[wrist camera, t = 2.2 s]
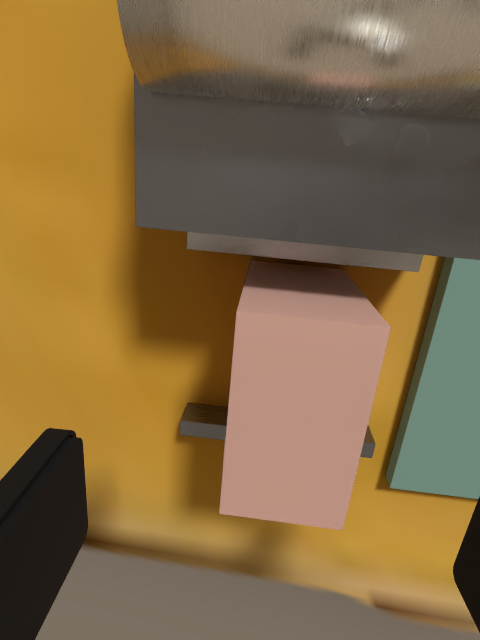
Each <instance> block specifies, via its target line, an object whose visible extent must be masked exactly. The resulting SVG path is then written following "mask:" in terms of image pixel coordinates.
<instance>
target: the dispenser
mask: <svg viewBox="0 0 480 640" xmlns="http://www.w3.org/2000/svg"><path fill="white" fill-rule="evenodd" d="M117 4H118V11H119V17H120V23H121V28H122V33H123V37H124V42H125V46H126V50H127V53H128V57H129V60H130V63H131V66H132V69H133V71H134V105H135V206H136V227H144V228H154V229H164V230H175V231H185V232H187V249H191V250H201V251H211V252H221V253H231V254H241V255H252V256H262V257H272V258H282V259H292V260H302V261H312V262H322V263H332V264H342V265H352V266H362V267H372V268H382V269H393V270H403V271H413V272H419V269H420V265H421V261H422V257H423V255H432V256H442V257H452V258H463V259H473V260H480V0H117ZM227 417H228V408H225V407H217V406H208V405H200V404H192V403H187V405H186V408H185V410H184V413H183V416H182V418H181V425H180V435H186V436H195V437H203V438H211V439H219V440H225V437H226V428H227ZM374 448H375V441H374V439H373V436H372V434H371V431H370V429H369V426H367V430H366V434H365V438H364V442H363V447H362V451H361V455H360V457H367V458H372V456H373V452H374Z"/></svg>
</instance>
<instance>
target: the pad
mask: <svg viewBox="0 0 480 640" xmlns="http://www.w3.org/2000/svg"><path fill="white" fill-rule="evenodd" d="M385 477H386V479H387V482H388V484H389V487H390V488H393V489H401V490H409V491H417V492H425V493H433V494H441V495H449V496H457V497H465V498H473V499H479V497H480V260H473V259H463V258H452V257H445V259H444V263H443V267H442V270H441V274H440V278H439V281H438V285H437V289H436V292H435V296H434V300H433V303H432V307H431V311H430V314H429V318H428V322H427V326H426V329H425V333H424V337H423V340H422V344H421V348H420V351H419V355H418V359H417V362H416V366H415V370H414V373H413V377H412V381H411V384H410V388H409V392H408V395H407V399H406V403H405V406H404V410H403V414H402V417H401V421H400V425H399V428H398V432H397V436H396V439H395V443H394V447H393V450H392V454H391V458H390V461H389V465H388V469H387V472H386V476H385Z"/></svg>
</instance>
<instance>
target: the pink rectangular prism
mask: <svg viewBox="0 0 480 640" xmlns="http://www.w3.org/2000/svg"><path fill="white" fill-rule="evenodd" d="M390 329H391V327H390V326H389V325H388V324H387V322H386V321H385V320H384V319H383V317H382V316H381V315H380V314H379V312H378V311H377V310H376V309H375V308H374V306H373V305H372V304H371V303H370V301H369V300H368V299H367V298H366V296H365V295H364V294H363V293H362V292H361V290H360V289H359V288H358V287H357V285H356V284H355V283H354V282H353V280H352V279H351V278H350V277H349V276H348V274H347V273H346V272H345V271H344V270H342V269H332V268H322V267H312V266H302V265H292V264H282V263H272V262H262V261H252V260H251V262H250V265H249V269H248V272H247V276H246V280H245V283H244V287H243V290H242V294H241V297H240V301H239V304H238V308H237V312H236V324H235V336H234V347H233V359H232V370H231V382H230V394H229V405H228V417H227V428H226V437H225V445H224V456H223V475H222V486H221V498H220V510H219V514H224V515H232V516H240V517H247V518H255V519H262V520H270V521H277V522H285V523H293V524H300V525H308V526H315V527H323V528H331V529H338V530H343V526H344V522H345V518H346V514H347V510H348V505H349V501H350V497H351V493H352V489H353V484H354V480H355V476H356V472H357V468H358V463H359V459H360V455H361V451H362V447H363V442H364V438H365V434H366V430H367V426H368V421H369V417H370V413H371V409H372V405H373V400H374V396H375V392H376V388H377V384H378V379H379V375H380V371H381V367H382V363H383V358H384V354H385V350H386V346H387V342H388V337H389V333H390Z"/></svg>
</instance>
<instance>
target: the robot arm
mask: <svg viewBox="0 0 480 640" xmlns="http://www.w3.org/2000/svg"><path fill="white" fill-rule="evenodd" d="M87 529H88V516H87V501H86V485H85V469H84V454H83V441H82V439H81V438H77V437H76V433H75V432H74V431H72V430H63V429H54V428H49V429H46V430H45V431H44V432H43V433H42V434H41V435H40V437H39V438H38V439H37V440H36V441H35V442H34V443H33V444H32V446H31V447H30V448H29V449H28V450H27V451H26V452H25V453H24V455H23V456H22V457H21V458H20V459H19V460H18V461H17V462H16V464H15V465H14V466H13V467H12V468H11V469H10V470H9V471H8V473H7V474H6V475H5V476H4V477H3V478H2V479H1V481H0V640H35V638H36V636H37V634H38V632H39V630H40V628H41V626H42V624H43V622H44V620H45V618H46V616H47V614H48V612H49V610H50V608H51V606H52V604H53V602H54V600H55V598H56V596H57V594H58V592H59V590H60V588H61V586H62V584H63V582H64V580H65V578H66V576H67V574H68V572H69V570H70V568H71V566H72V564H73V562H74V560H75V558H76V556H77V554H78V552H79V550H80V548H81V546H82V544H83V542H84V540H85V537H86V534H87ZM453 575H454V579H455V583H456V585H457V587H458V589H459V591H460V593H461V595H462V597H463V599H464V602H465V604H466V606H467V608H468V610H469V612H470V614H471V616H472V618H473V620H474V622H475V624H476V626H477V628H478V630H479V632H480V497H479V499H478V502H477V505H476V507H475V510H474V512H473V515H472V518H471V520H470V523H469V526H468V528H467V531H466V534H465V536H464V539H463V542H462V544H461V547H460V550H459V552H458V555H457V558H456V560H455V563H454V566H453Z"/></svg>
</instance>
